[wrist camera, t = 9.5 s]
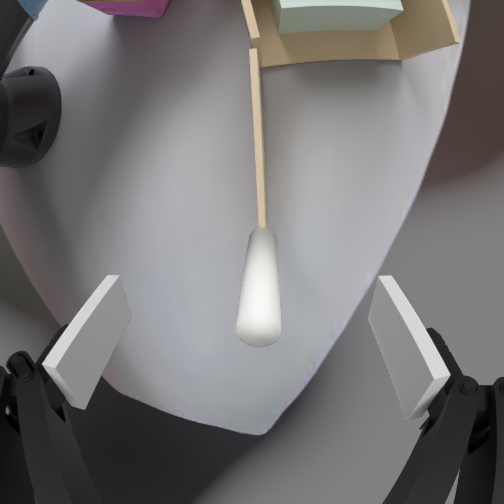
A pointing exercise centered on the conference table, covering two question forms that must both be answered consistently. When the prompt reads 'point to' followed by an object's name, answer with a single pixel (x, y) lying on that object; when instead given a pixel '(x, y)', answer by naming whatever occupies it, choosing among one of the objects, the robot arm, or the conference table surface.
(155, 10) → the gum box
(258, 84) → the front flap
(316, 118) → the conference table surface
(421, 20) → the carton
